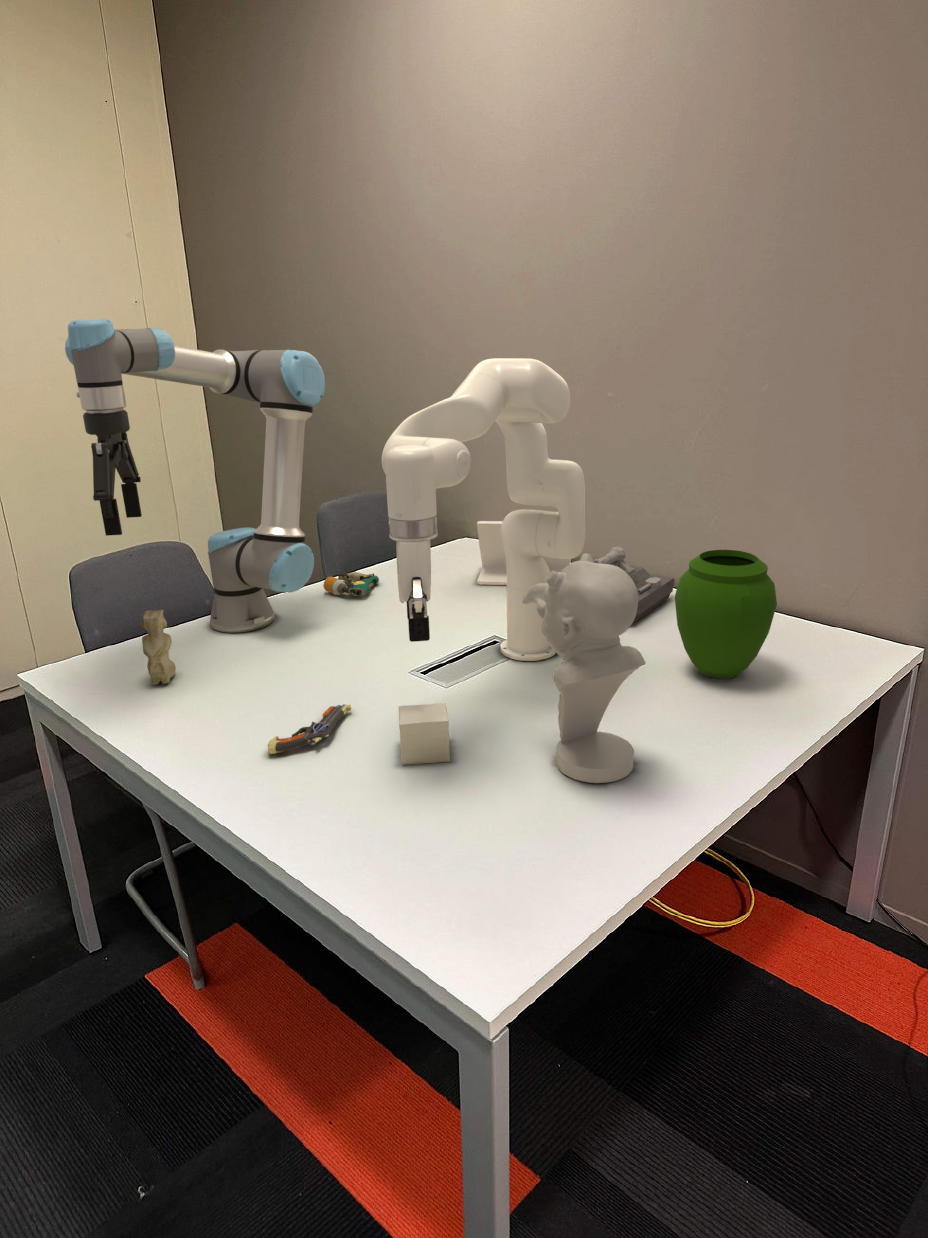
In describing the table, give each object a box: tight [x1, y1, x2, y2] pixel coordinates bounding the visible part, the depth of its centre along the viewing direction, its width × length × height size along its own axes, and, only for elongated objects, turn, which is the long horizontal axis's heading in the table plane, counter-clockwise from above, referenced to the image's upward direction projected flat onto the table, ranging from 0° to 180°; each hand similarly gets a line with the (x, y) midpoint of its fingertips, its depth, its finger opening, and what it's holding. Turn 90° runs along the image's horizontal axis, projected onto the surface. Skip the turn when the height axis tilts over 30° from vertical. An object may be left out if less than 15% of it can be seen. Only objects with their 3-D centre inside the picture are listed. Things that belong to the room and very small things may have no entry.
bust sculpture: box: [522, 553, 646, 784], centre depth 140 cm, size 16×24×35 cm, turn 28°
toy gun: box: [267, 703, 352, 755], centre depth 155 cm, size 3×19×10 cm
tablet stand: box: [476, 520, 572, 586], centre depth 236 cm, size 18×25×17 cm
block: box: [398, 702, 451, 766], centre depth 146 cm, size 7×8×8 cm
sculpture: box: [141, 608, 177, 685], centre depth 176 cm, size 6×7×15 cm
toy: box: [593, 546, 676, 624], centre depth 212 cm, size 25×20×15 cm
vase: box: [674, 549, 778, 680], centre depth 171 cm, size 20×20×24 cm
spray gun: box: [323, 571, 380, 597], centre depth 231 cm, size 4×17×15 cm
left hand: (124, 525), depth 161 cm, fingers open, 13 cm apart
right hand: (418, 629), depth 139 cm, fingers open, 9 cm apart
